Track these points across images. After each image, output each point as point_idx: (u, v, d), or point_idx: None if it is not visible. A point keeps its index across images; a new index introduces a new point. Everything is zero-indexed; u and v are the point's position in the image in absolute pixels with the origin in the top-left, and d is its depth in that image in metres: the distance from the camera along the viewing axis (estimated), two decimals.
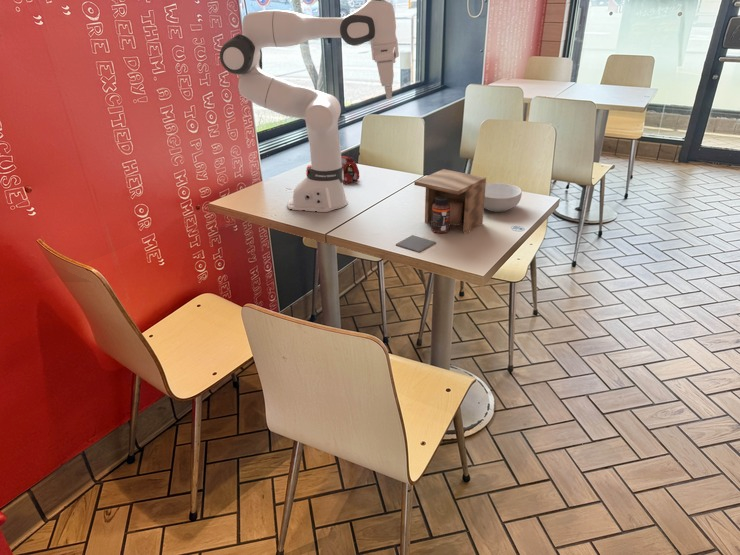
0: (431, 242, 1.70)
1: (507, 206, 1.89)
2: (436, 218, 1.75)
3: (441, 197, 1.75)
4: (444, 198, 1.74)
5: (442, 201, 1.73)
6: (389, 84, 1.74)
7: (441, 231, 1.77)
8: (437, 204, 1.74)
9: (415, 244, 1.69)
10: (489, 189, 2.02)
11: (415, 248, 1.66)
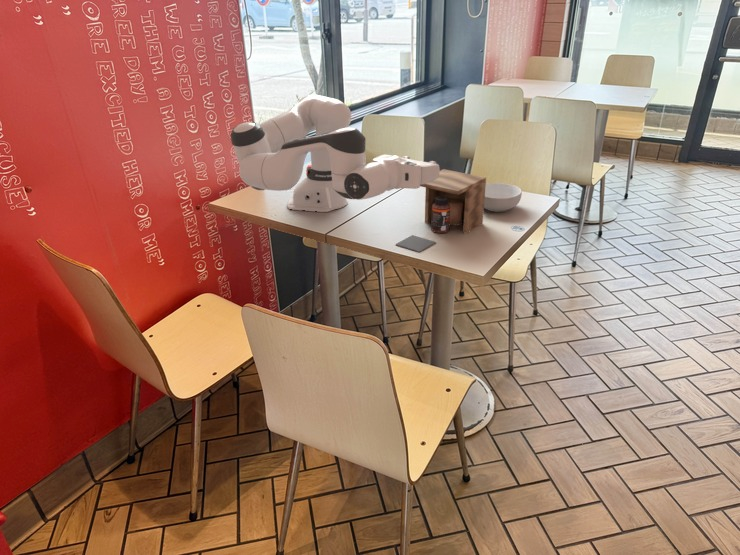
0: (431, 242, 1.70)
1: (507, 206, 1.89)
2: (436, 218, 1.75)
3: (441, 197, 1.75)
4: (444, 198, 1.74)
5: (442, 201, 1.73)
6: (439, 168, 1.50)
7: (441, 231, 1.77)
8: (437, 204, 1.74)
9: (415, 244, 1.69)
10: (489, 189, 2.02)
11: (415, 248, 1.66)
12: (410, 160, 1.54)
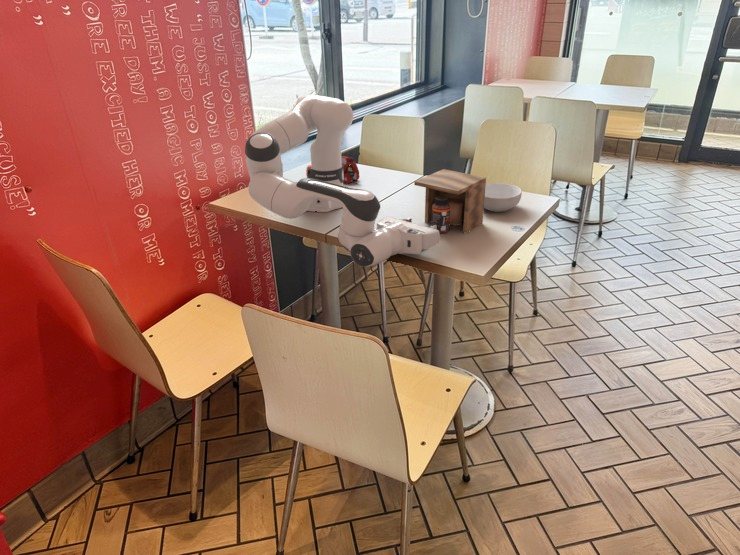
0: None
1: (507, 206, 1.89)
2: (436, 218, 1.75)
3: (441, 197, 1.75)
4: (444, 198, 1.74)
5: (442, 201, 1.73)
6: None
7: (441, 231, 1.77)
8: (437, 204, 1.74)
9: None
10: (489, 189, 2.02)
11: None
12: (412, 225, 1.64)
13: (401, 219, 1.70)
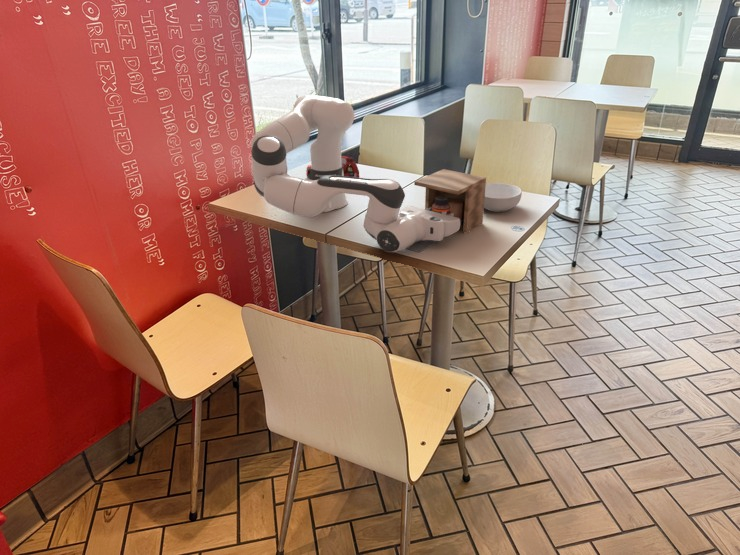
0: (431, 242, 1.70)
1: (507, 206, 1.89)
2: None
3: (441, 197, 1.75)
4: (444, 198, 1.74)
5: (442, 201, 1.73)
6: None
7: None
8: (437, 204, 1.74)
9: (415, 244, 1.69)
10: (489, 189, 2.02)
11: (415, 248, 1.66)
12: (433, 213, 1.72)
13: (425, 209, 1.78)
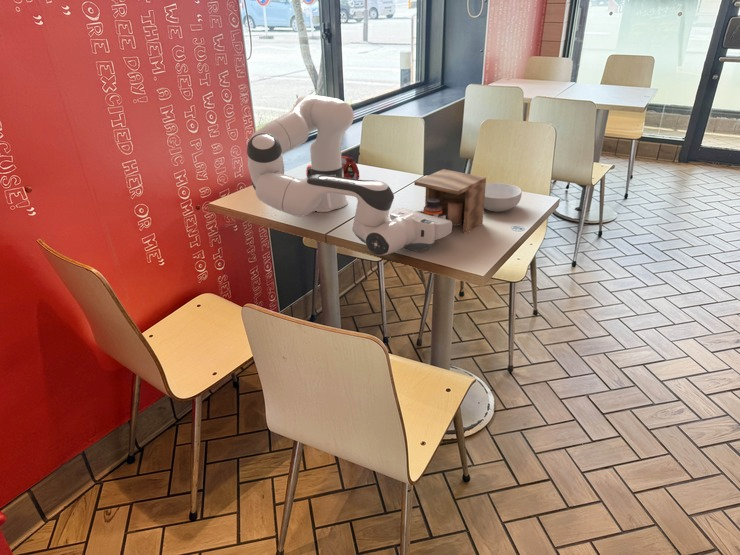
0: None
1: (507, 206, 1.89)
2: None
3: (433, 199, 1.70)
4: (436, 200, 1.69)
5: (434, 203, 1.68)
6: (451, 224, 1.63)
7: None
8: (428, 206, 1.69)
9: (415, 244, 1.69)
10: (489, 189, 2.02)
11: (415, 248, 1.66)
12: (425, 215, 1.67)
13: (416, 211, 1.73)
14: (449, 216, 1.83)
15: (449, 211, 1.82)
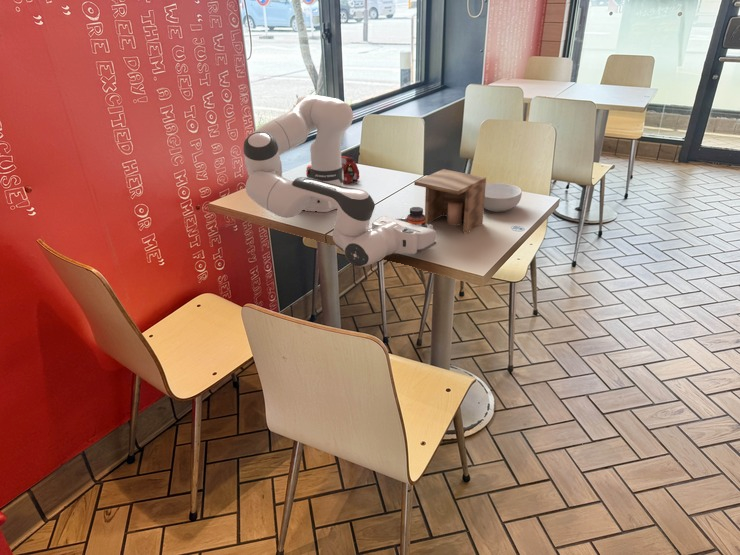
0: None
1: (507, 206, 1.89)
2: None
3: (416, 208, 1.65)
4: (419, 209, 1.64)
5: (417, 212, 1.63)
6: None
7: None
8: (411, 215, 1.64)
9: None
10: (489, 189, 2.02)
11: None
12: (407, 224, 1.62)
13: (397, 219, 1.68)
14: (449, 216, 1.83)
15: (449, 211, 1.82)
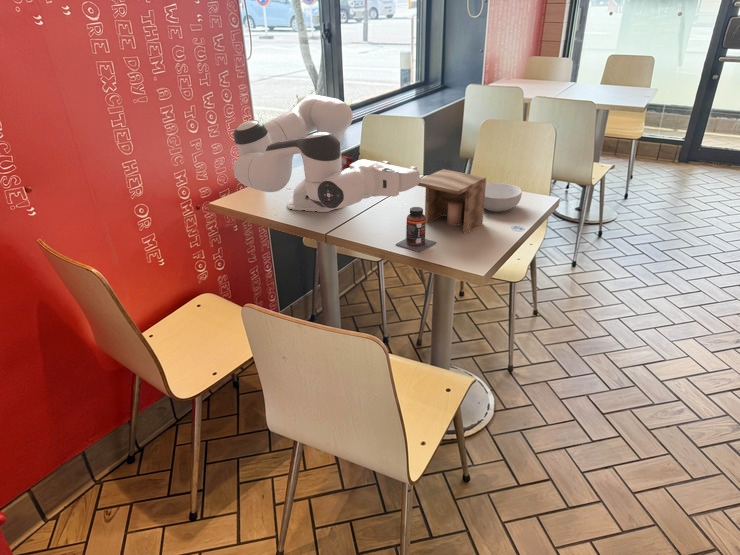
0: (431, 242, 1.70)
1: (507, 206, 1.89)
2: (410, 230, 1.65)
3: (416, 208, 1.65)
4: (419, 209, 1.64)
5: (417, 212, 1.63)
6: None
7: (416, 244, 1.67)
8: (411, 215, 1.64)
9: None
10: (489, 189, 2.02)
11: (415, 248, 1.66)
12: (389, 166, 1.46)
13: None
14: (449, 216, 1.83)
15: (449, 211, 1.82)
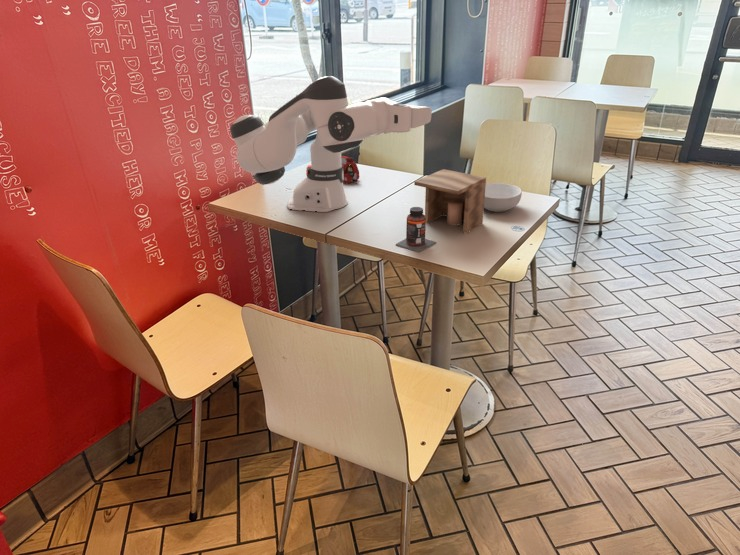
0: (431, 242, 1.70)
1: (507, 206, 1.89)
2: (410, 230, 1.65)
3: (416, 208, 1.65)
4: (419, 209, 1.64)
5: (417, 212, 1.63)
6: None
7: (416, 244, 1.67)
8: (411, 215, 1.64)
9: None
10: (489, 189, 2.02)
11: (415, 248, 1.66)
12: None
13: None
14: (449, 216, 1.83)
15: (449, 211, 1.82)
